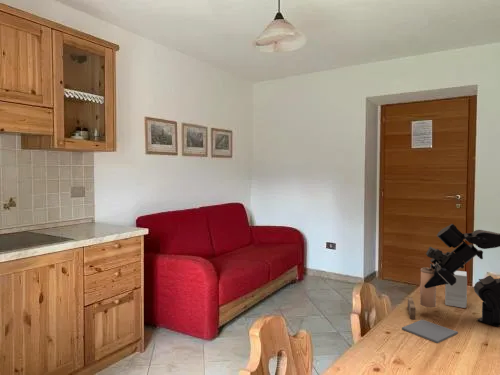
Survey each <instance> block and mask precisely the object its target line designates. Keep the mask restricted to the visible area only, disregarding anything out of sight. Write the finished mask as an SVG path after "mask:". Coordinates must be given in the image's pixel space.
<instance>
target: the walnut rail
mask: <svg viewBox="0 0 500 375" xmlns="http://www.w3.org/2000/svg"><path fill="white" fill-rule="evenodd" d="M407 310H408V314H409V320H416V305H415V302H414V299H413V296H412V297H411V296H408V297H407Z"/></svg>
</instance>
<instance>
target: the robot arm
mask: <svg viewBox="0 0 500 375" xmlns="http://www.w3.org/2000/svg"><path fill="white" fill-rule="evenodd" d="M436 237H437V238H438V239H439V240H441V242H443V244H445V245H446V246H447V247H448V248H452V249H453V248H454V249H453V250H452V251H451V252H450V251H447V252H445V253H444V252H443V251H442V250H440V249H438V248H434V247H432V246H429V247H428V249H427V251H426V252H425V255H426V256H427V257H428V258H430V260H429V261H430V262H431V263H430V264H429V265H430V268H433V269H434V275H433V276H432V277H431V278H430V279H429V281H428V282H427V283H426V284H425V285H424V287H425V288H430V287H434V286H436V287H439V286H443V285H445V284H450V285H451V286H452V285H453V284H455V283H456V278H455V276H454V275H455V274H454V272H456V271H459V269H464V268H465V266H464V265H466V264H467V263H468V262H470V261H472V259H473V258H475V257H477V258H478V259H480V260H483V259H484V256H483V253H484V251H483V250H488V249H489V250H490V249H496V248H500V233H499V232H495V231H490V230H484V229H475V230H474V231H473V232H468V233H467V232H466V233H465V232H464V233H462V232H461V231H460V230H459V229H458V228H457V226H456V225H455V224H453V223H450V224H449V225H448V226H445V227H443V228H442V229H440V230H439V231H438V233H437V234H436ZM465 241H467V242H468V243H469V244H468V243H467V242H465ZM473 244H474V245H475V246H474V245H473ZM477 247H478V248H479V249H477ZM435 269H436V270H437V271H436V270H435ZM473 291H474V292H475V294H476V295H477V296H478V298H479V299H480V300H481V301H482V302H481V317H480V318H477V320H476V321H477V322H480V323H483V324H485V325H486V324H487V325H490V326H493V327H497V328H499V327H500V278H499V277H498V278H494V277H493V276H492V275H491V274H489V275H488V276H486V277H484V278H478V281H477V282H476V283H475V284H474V287H473Z"/></svg>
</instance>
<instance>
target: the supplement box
mask: <svg viewBox="0 0 500 375" xmlns="http://www.w3.org/2000/svg"><path fill="white" fill-rule="evenodd" d="M454 274H455V275H454V276H455V278H456V283H455V284H453V285H452V286H451V285H450V284H444V285H445V286H444V293H445V294H444V295H445V296H444V299H445V300H444V304H445V306H451V307H458V308H463V309H467V304H468V273H467V271H463V270H457V271H456V272H454Z"/></svg>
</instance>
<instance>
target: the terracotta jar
mask: <svg viewBox="0 0 500 375" xmlns="http://www.w3.org/2000/svg"><path fill="white" fill-rule="evenodd" d="M435 270H436V269H435ZM436 271H437V270H436ZM433 275H434V269H433V268H431V267H421V268H420V299H419V300H420V301H419V302H420V303H419V304H420V305H421V306H422V307H427V308H435V307H436V305H437V304H436V302H437V286H434V287H430V288H425V287H424V285H425V284H426V283H427V282H428V281H429V279H430V278H431V277H432V276H433Z"/></svg>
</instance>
